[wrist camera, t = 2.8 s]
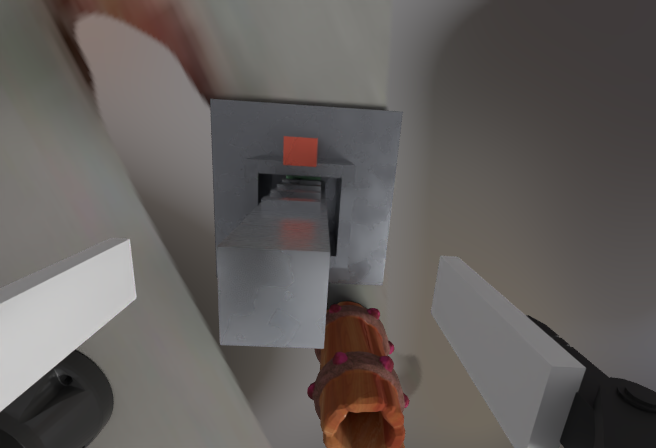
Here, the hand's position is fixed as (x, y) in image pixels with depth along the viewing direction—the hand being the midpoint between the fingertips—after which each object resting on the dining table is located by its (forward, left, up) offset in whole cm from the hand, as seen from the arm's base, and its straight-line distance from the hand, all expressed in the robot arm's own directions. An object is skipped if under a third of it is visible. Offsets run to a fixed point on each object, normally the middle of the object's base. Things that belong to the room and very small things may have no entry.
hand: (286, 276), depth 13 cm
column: (0, 0, -18) cm, 18 cm away
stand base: (0, 0, -19) cm, 19 cm away
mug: (+7, -17, -20) cm, 27 cm away
